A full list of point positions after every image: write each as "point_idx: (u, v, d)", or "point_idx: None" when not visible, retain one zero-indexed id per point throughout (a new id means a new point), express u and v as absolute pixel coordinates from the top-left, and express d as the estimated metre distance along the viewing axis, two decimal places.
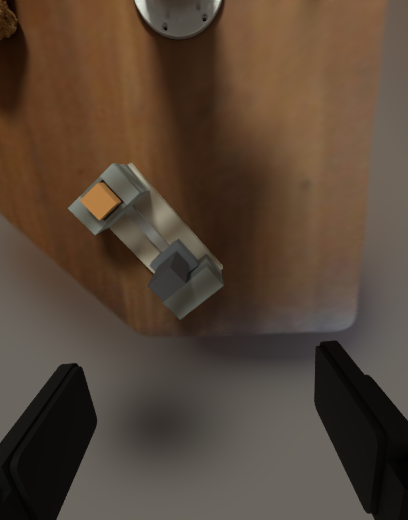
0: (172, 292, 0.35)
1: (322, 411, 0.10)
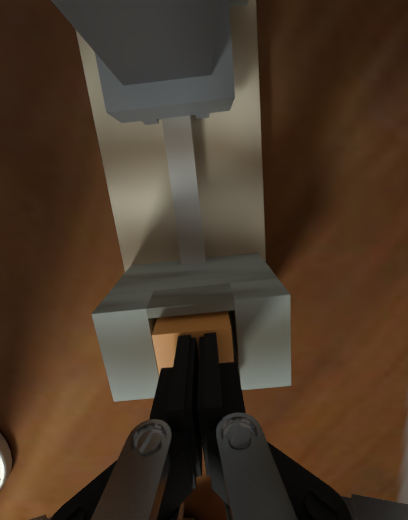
0: None
1: None
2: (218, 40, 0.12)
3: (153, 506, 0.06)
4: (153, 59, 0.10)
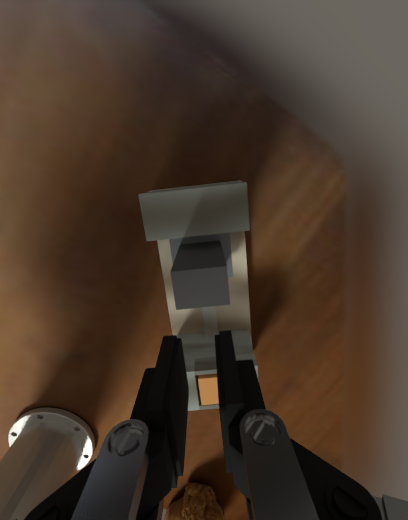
0: (201, 271, 0.19)
1: None
2: (226, 256, 0.27)
3: (133, 501, 0.06)
4: None
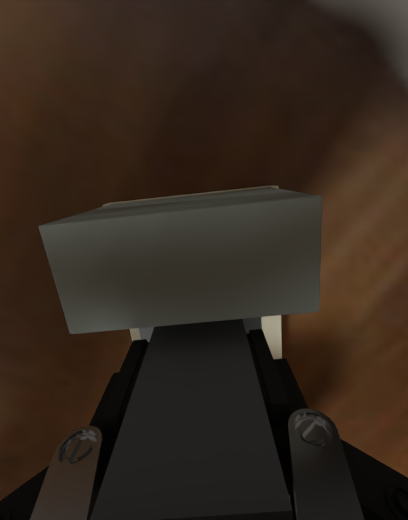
0: None
1: None
2: None
3: (91, 501, 0.06)
4: None
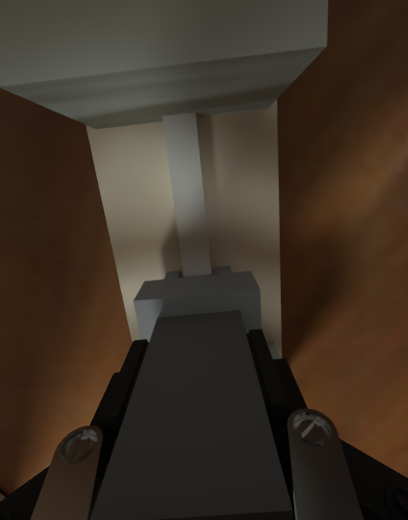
0: None
1: None
2: None
3: (92, 501, 0.06)
4: None
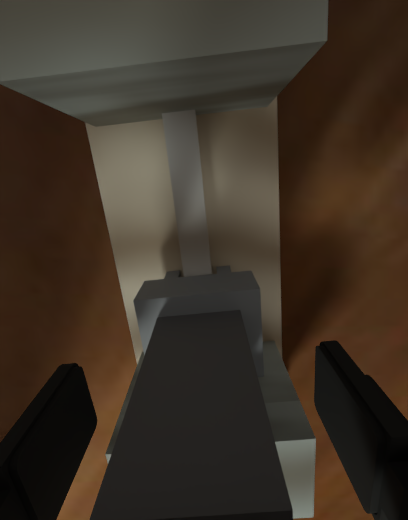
0: None
1: (322, 411, 0.10)
2: (251, 340, 0.13)
3: None
4: None
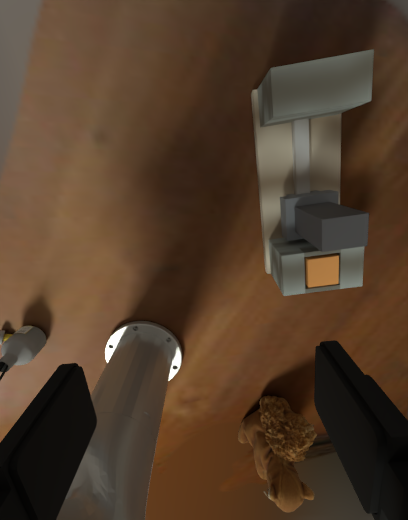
0: (347, 218, 0.23)
1: (322, 411, 0.10)
2: None
3: None
4: None
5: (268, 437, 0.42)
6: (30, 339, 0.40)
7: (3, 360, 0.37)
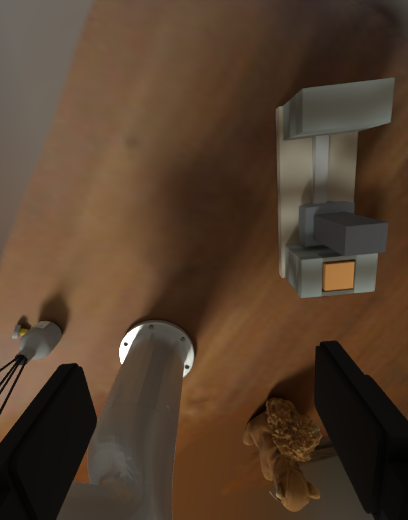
0: (368, 226, 0.26)
1: (322, 411, 0.10)
2: None
3: None
4: None
5: (275, 438, 0.43)
6: (48, 334, 0.41)
7: (23, 353, 0.37)
